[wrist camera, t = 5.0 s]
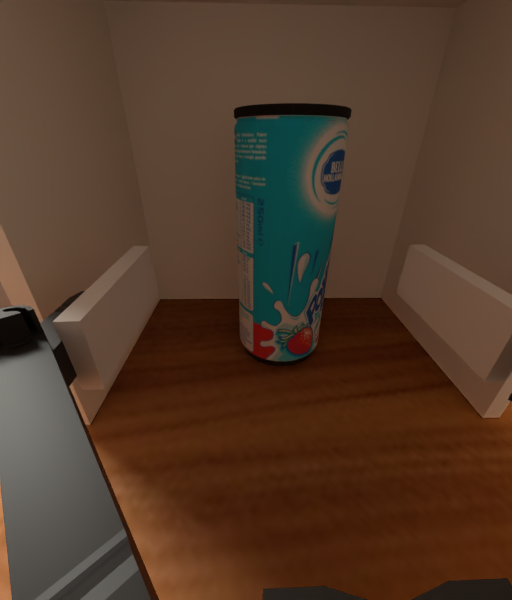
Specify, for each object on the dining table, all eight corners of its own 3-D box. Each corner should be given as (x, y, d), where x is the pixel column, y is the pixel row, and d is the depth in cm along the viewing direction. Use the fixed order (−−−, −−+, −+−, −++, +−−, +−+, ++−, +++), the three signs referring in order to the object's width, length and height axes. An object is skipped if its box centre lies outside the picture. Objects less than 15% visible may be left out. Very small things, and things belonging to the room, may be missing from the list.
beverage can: (290, 383, 18) (317, 99, 11) (223, 346, 21) (208, 108, 14) (329, 339, 22) (369, 111, 15) (269, 313, 25) (276, 116, 18)
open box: (386, 292, 29) (470, -19, 18) (499, 417, 16) (1091, -464, 5) (153, 294, 28) (88, -27, 17) (71, 425, 15) (-422, -564, 4)
